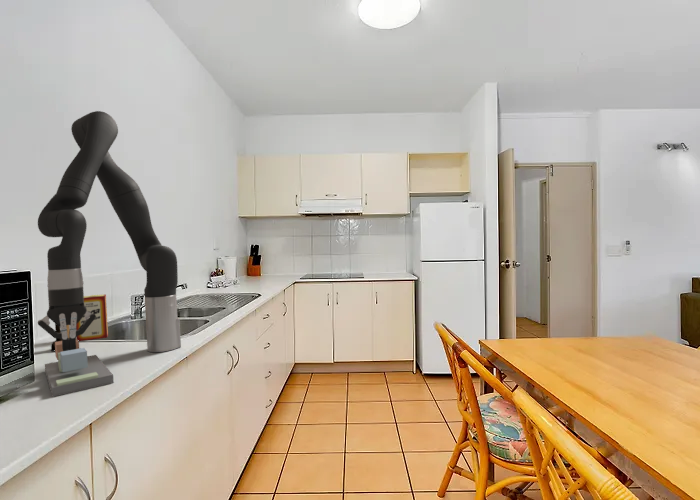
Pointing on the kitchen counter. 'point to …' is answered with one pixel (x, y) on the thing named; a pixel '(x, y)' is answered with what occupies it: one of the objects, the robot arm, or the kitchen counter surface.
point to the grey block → (73, 359)
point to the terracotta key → (59, 347)
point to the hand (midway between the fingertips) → (69, 352)
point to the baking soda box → (99, 324)
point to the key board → (78, 377)
